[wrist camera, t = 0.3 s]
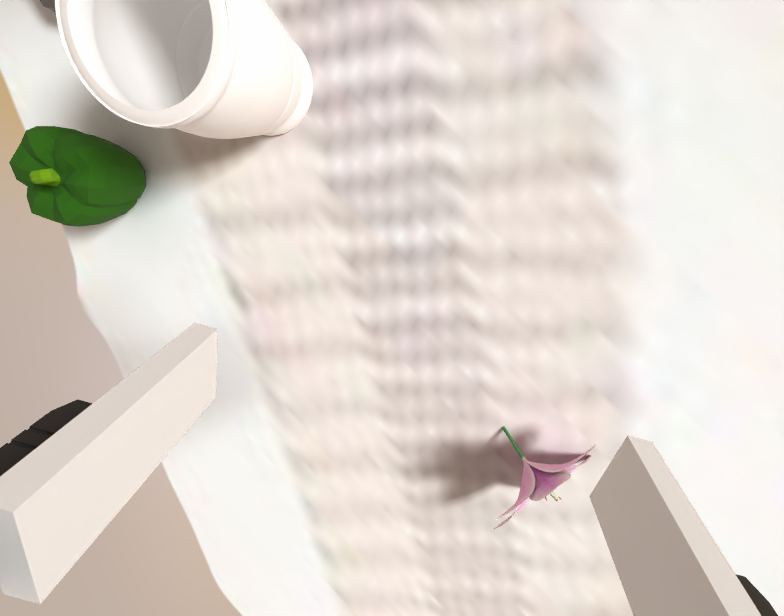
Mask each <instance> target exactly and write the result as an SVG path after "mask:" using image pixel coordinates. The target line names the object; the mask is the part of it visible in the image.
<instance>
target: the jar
mask: <svg viewBox="0 0 784 616" xmlns="http://www.w3.org/2000/svg"><path fill="white" fill-rule="evenodd" d="M55 9H56V18H57V23H58V28H59V32H60V36H61V40H62V43H63V46H64V48H65V51H66V54H67V56H68V58H69V60H70V62H71V64H72V66H73V68H74V70H75V72H76V73H77V75H78V77H79V78H80V80H81V81H82V83H83V84H84V85H85V87H86V88H87V89H88V90H89V91H90V93H91V94H92V95H93V96H94V97H95V98H96V99H97V100H98V101H99V102H100V103H101V104H102V105H104V106H105V107H106V108H107V109H109V110H110V111H112V112H113V113H115V114H116V115H118V116H120V117H121V118H123V119H126V120H128V121H130V122H133V123H136V124H140V125H144V126H148V127H153V128H175V129H178V130H180V131H183V132H186V133H190V134H193V135H197V136H202V137H207V138H215V139H236V138H244V137H252V136H259V135H268V136H274V135H280V134H284V133H286V132H288V131H290V130H292V129H293V128H295V127H296V126H297V125H298V124H299V123H300V122H301V121H302V119H303V118H304V117H305V115H306V113H307V111H308V109H309V106H310V103H311V99H312V92H313V81H312V74H311V70H310V66H309V64H308V61H307V59H306V57H305V55H304V53H303V52H302V50H301V49H300V48H299V46H298V45H297V44H296V43H295V42H294V41H293V40H292V39H291V38H290V37H289V35H288V33H287V32H286V30H285V29H284V27H283V26H282V24H281V23H280V22H279V20H278V19H277V17H276V16H275V14H274V13H273V11H272V10H271V8H270V7H269V6H268V4H267V3H266V2H265V1H264V0H55Z"/></svg>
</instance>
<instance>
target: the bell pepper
mask: <svg viewBox="0 0 784 616" xmlns="http://www.w3.org/2000/svg"><path fill="white" fill-rule="evenodd" d="M9 163H10V165H11V167H12V170H13V172H14V174H15V176H16V179H17V180H18V181H20V182H22V183H23V184H25V185H26V186H28V188H27V199H28V202H29V205H30V208H31V212H32V213H33V214H36V215H39V216H42V217H45V218H47V219H50V220H53V221H55V222H59V223H62V224H65V225H70V226H87V225H95V224H100V223H103V222H105V221H108V220H111V219H114V218H116V217H118V216H120V215H122V214H125V213H127V212H128V211H129V210H130V209H131V208H132V207H133V206H134V205H135V204H136V202H137V199H138V198H140V197H141V195H142V193H143V191H144V189H145V187H146V179H145V172H144V170H143V168H142V166H141V164H140V162H139V160H138V159H137V158H136V157H135V156H133V155H132V154H130V153H129V152H128V151H126V150H125V149H123V148H122V147H120V146H118V145H115V144H113V143H111V142H109V141H106V140H104V139H101V138H99V137H96V136H94V135H87V134H84V133H82V132H79V131H76V130H73V129H67V128H61V127H55V126H36V127H34V128H32V129H29V130H27V131H26V132H25V134H24V137H23V139H22V141H21V144H20V145H19V147H18V149H17V150H16V152H15V154H14V155H13V157H12V159H11V161H10V162H9Z"/></svg>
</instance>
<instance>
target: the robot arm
mask: <svg viewBox="0 0 784 616" xmlns="http://www.w3.org/2000/svg"><path fill="white" fill-rule="evenodd" d="M217 347H218V329H216V328H212V327H208V326H204V325H201V324H197V323H194V324H193V325H192V326H190V327H189V328H188V329H187V330H185V331H184V332H183V333H181V334H180V335H179V336H178V337H176V338H175V339H174V340H173V341H171V342H170V343H169V344H168V345H166V346H165V347H164V348H162V349H161V350H160V351H159V352H157V353H156V354H155V355H154V356H152V357H151V358H150V359H149V360H147V361H146V362H145V363H143V364H142V365H141V366H140V367H138V368H137V369H136V370H135V371H133V372H132V373H131V374H130V375H128V376H127V377H126V378H124V379H123V380H122V381H121V382H119V383H118V384H117V385H116V386H114V387H113V388H112V389H111V390H109V391H108V392H107V393H105V394H104V395H103V396H102V397H100V398H99V399H98V400H97V401H95V402H94V403H93V404H92V403H88V402H85V401H81V400H75V401H73V402H71V403H68V404H66V405H64V406H61V407H59V408H57V409H55V410H52V411H51V412H49V413H48V414H46V415H45V416H44V417H42V418H41V419H39V420H38V421H37V422H35V423H34V424H33V425H31V426H30V428H29V429H28V430H24V431H23V432H22V433H20V434H19V435H17V436H16V437H15V438H14V439H12V441H11V443H9V444H8V443H6V444H5V445H4V446H2V447H1V448H0V585H1V588H2V591H3V593H4V594H6V595H10V596H13V597H17V598H20V599H24V600H28V601H31V602H35V603H38V604H41V603H42V601H43V600H44V599H45V598H46V597H47V596H48V594H49V593H50V592H51V591H52V590H53V589H54V587H55V586H56V585H57V584H58V583H59V581H60V580H61V579H62V578H63V577H64V575H65V574H66V573H67V572H68V571H69V569H71V567H72V566H73V565H74V564H75V563H76V561H77V560H78V559H79V558H80V557H81V556H82V554H83V553H84V552H85V551H86V550H87V549H88V547H89V546H90V545H91V544H92V542H93V541H94V540H95V539H96V538H97V537H98V535H99V534H100V533H101V532H102V531H103V530H104V528H105V527H106V526H107V525H108V524H109V523H110V521H111V520H112V519H113V518H114V516H116V514H117V513H118V512H119V511H120V510H121V508H122V507H123V506H124V505H125V504H126V503H127V501H128V500H129V499H130V498H131V497H132V496H133V494H134V493H135V492H136V491H137V490H138V488H139V487H140V486H141V485H142V484H143V483H144V481H145V480H146V479H147V478H148V476H149V475H150V474H151V473H152V472H153V471H154V470H155V468H156V467H157V466H158V465H159V464H160V463H161V461H162V460H163V459H164V458H165V457H166V455H167V454H168V453H169V452H170V451H171V450H172V448H173V447H174V446H175V445H176V444H177V443H178V441H179V440H180V439H181V438H182V437H183V435H184V434H185V433H186V432H187V431H188V430H189V428H190V427H191V426H192V425H193V424H194V423H195V421H196V420H197V419H198V418H199V417H200V415H201V414H202V413H203V412H204V411H205V410H206V408H207V407H208V406H209V405H210V404H211V402H212V401H213V400H214V399H215V398H216V380H217ZM590 499H591V501H592V504H593V507H594V510H595V512H596V515H597V518H598V520H599V523H600V526H601V528H602V531H603V534H604V537H605V539H606V542H607V545H608V547H609V550H610V553H611V555H612V558H613V561H614V564H615V566H616V569H617V572H618V574H619V577H620V580H621V582H622V585H623V588H624V591H625V593H626V596H627V599H628V601H629V604H630V607H631V609H632V612H633V615H634V616H778V615H777V614H776V612H775V610H774V609H773V607H772V606H771V604H770V603H769V602H768V601H767V600H766V599H765V597H764V596H763V595H762V594H761V593H760V592H759V591H758V590H757V589H756V588H755V587H754V586H753V585H752V584H751V583H750V581H749V580H748V579H747V578H746V577H744V576H740V575H736V574H735V573H734V571H733V570H732V568H731V567H730V565H729V563H728V562H727V560H726V559H725V557H724V555H723V554H722V552H721V551H720V549H719V547H718V546H717V544H716V543H715V541H714V539H713V538H712V536H711V535H710V533H709V531H708V530H707V528H706V527H705V525H704V524H703V522H702V520H701V519H700V517H699V516H698V514H697V512H696V511H695V509H694V508H693V506H692V504H691V503H690V501H689V500H688V498H687V496H686V495H685V493H684V492H683V490H682V489H681V487H680V485H679V484H678V482H677V481H676V479H675V477H674V476H673V474H672V473H671V471H670V469H669V468H668V466H667V465H666V463H665V461H664V460H663V458H662V457H661V455H660V453H659V452H658V450H657V449H656V447H655V446H654V444H653V442H650V441H646V440H642V439H639V438H635V437H631V436H627V438H626V439H625V441H624V442H623V444H622V446H621V447H620V449H619V450H618V452H617V453H616V455H615V457H614V458H613V460H612V461H611V463H610V465H609V466H608V468H607V469H606V471H605V472H604V474H603V476H602V477H601V479H600V480H599V482H598V484H597V485H596V487H595V488H594V490H593V491H592V493H591V495H590Z"/></svg>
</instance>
